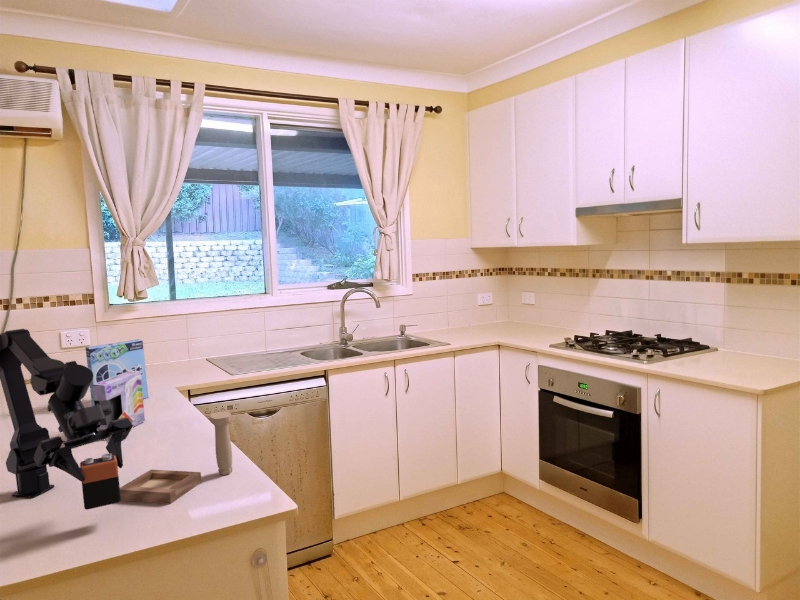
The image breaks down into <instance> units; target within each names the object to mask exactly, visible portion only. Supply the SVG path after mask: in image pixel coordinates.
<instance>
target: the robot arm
mask: <svg viewBox="0 0 800 600" xmlns="http://www.w3.org/2000/svg"><path fill="white" fill-rule="evenodd" d="M22 366H24V367H25V369H26V370H27V371H28V372H29V373H30V385H31V389H32V390H33V391H34V392H35V393H36V394H37V395H38V396H44V395H45V396H46V395H50V394H51V395H50V397H49V399H48V402H47V404H48V405H47V411H48V412H52V413H53V416H54V417H55V419H56V422H57V423H58V428H57V430H58V431H59V433H63V435H64V436H65V439H66V440H63V438H62V437H61V436H55V437H51V436H50V433H49V429H47V427H42V426H41V425H40V424H38V423H37V419H36V416H35V415H36V414H35V413H34V408H33V405H32V401H31V398H30V395H29V391H28V387H27V384H26V381H25V377H24V374H23V371H22ZM92 380H93V372H92V371H91V370H90V369H89V368H88V366H85V365H83V364H79V363H77V361H76V360H71V361H67V362H65V363H64V362H63V361H61V360H59V359H56V358H55V359H54V358H51V357H50V356H49V355H48V354H47V353H46V352H45V351H44V350H43V348H42V347H41V346H40V345H39V344H38V343H37V342H36V340H34V339H33V337H32V336H31V333H30V331H29V329H27V328H26V329H25V328H20V329H19V328H18V329H11V330H5V331H4V332H1V333H0V383H1V387H2V390H3V394H4V395H3V396H4V398H5V401H6V405H7V410H8V413H9V416H10V419H11V423H12V426H13V430H14V431H13V433H12V437H11V439H10V442H9V447H10V450H9V453H8V456H7V458H6V460H5V467H6V470H7V472H9V473H11V474H14V475H15V480H16V488H17V489H16V490H17V491H15V492H13V493H11V497H20V498H36V497H38V496H39V495H42V494H44V493H45V492H47V491H49V490H51V489H53V488H55V484H50V478H49V477H50V476H49V471H48V468H47V467H50V468H52V467H55V468H57V469H59V470H62V471H63V472H65V473H67V474H69V475H70V476H71V477H73V478H75V479H76V480H78V481H80V483H82V482H83V481H84V480H85V477H84V475H83V473H82V471H81V469H80V465H79V464H78V462H77V461H76V459H75V457H74V455H73V452H72V451H73V450H72V449H75V448H76V449H77V448H79V447H82V446H85V445H89V444H92V443H95V442H96V443H97V442H98V441H103V440H102V439H105V440H104V441H105V442H106V443H107V444H106V446H105V450H106V451H107V452H108V453H112V455H115V456H116V459H117V466H118V469H122V468H123V467H124V463H123V462H124V461H123V453H122V450H123V449H122V442H123V441H125V440H126V439H127V438H128V436H129V434H130V432H131V430H132V427H133V424H132V422H131V421H130V419H128V418H121V419H118V420H114V421H110V423H109V425H108V427H107V429H104V430H101V431H97V428H99V427H100V426H101V423H100V421H101V420H104V419H106V417H105V416H108V415H109V414H111V413H112V409H111V406H110V404H109V403H108V401H107V400H104V401H100V402H98V403H97V404H96V406H92V405H91V406H89V407H88V406H87V407H85V406H84V404H83V402H82V400H83V399H84V398H85V396H86V395H87V392H88V391H89V389H90V384H91V382H92ZM133 428H134V427H133ZM47 465H48V466H47Z"/></svg>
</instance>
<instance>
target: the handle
mask: <svg viewBox="0 0 800 600" xmlns="http://www.w3.org/2000/svg"><path fill="white" fill-rule="evenodd" d="M231 421H232V413H231V412H230V411H227V410H226V411H225V410H224V411H217V412H212V413H211V414H210V423H211V424H213V426H214V439H215V440H214V442H215V445H214V446H215V447H214V448H215V457H216V464H217V469H218V471H217V472H218V474H219V475H222V476H226V475H230V474H231V473H232V472H233V451H232V450H233V449H232V443H231V436H230V435H231V434H230V429H229V428H230V427H229V423H230V422H231Z"/></svg>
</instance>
